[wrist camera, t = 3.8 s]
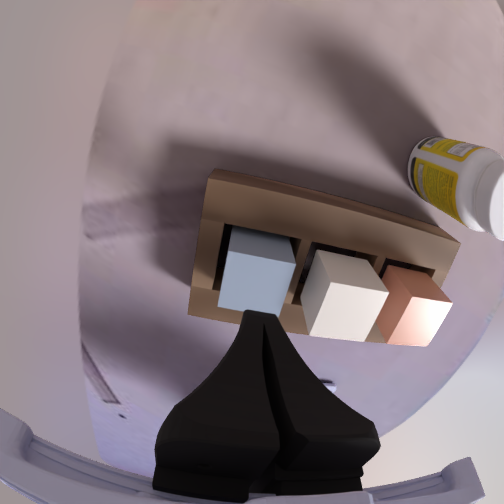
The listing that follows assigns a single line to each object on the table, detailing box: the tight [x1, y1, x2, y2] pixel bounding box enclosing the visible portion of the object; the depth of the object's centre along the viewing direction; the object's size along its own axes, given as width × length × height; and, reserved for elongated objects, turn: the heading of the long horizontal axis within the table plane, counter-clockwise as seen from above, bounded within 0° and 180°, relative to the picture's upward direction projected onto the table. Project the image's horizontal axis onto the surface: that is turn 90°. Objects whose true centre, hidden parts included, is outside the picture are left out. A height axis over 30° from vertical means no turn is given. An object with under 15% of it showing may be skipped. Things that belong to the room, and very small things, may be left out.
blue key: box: [217, 225, 296, 317], centre depth 17 cm, size 3×3×4 cm
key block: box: [188, 169, 461, 343], centre depth 19 cm, size 9×17×3 cm, turn 78°
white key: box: [300, 249, 389, 342], centre depth 16 cm, size 3×3×4 cm
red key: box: [375, 265, 453, 346], centre depth 17 cm, size 3×3×4 cm
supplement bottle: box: [408, 136, 504, 241], centre depth 14 cm, size 5×5×8 cm
